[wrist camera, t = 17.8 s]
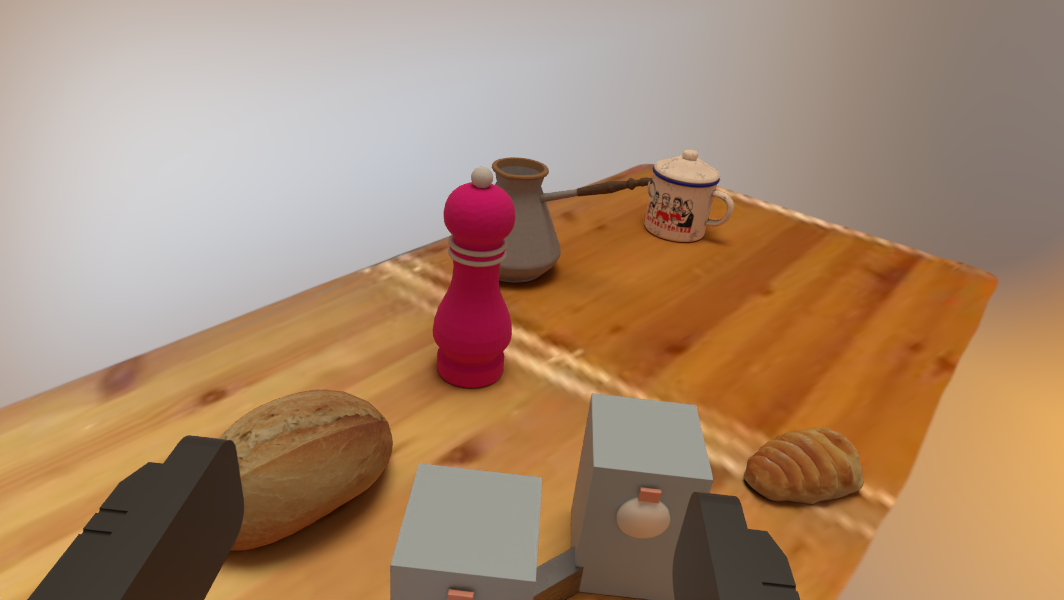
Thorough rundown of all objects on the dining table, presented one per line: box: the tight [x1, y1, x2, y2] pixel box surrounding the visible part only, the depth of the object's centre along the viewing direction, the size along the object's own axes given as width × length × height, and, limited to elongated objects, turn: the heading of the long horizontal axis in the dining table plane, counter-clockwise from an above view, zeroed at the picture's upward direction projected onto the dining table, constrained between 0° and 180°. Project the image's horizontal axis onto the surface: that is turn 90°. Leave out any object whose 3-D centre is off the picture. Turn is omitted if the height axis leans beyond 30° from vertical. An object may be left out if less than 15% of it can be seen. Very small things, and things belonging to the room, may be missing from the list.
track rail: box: [533, 547, 584, 600], centre depth 45 cm, size 13×2×2 cm, turn 127°
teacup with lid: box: [644, 150, 734, 242], centre depth 97 cm, size 12×9×12 cm
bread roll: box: [219, 390, 393, 551], centre depth 49 cm, size 10×15×8 cm, turn 138°
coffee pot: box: [492, 158, 656, 283], centre depth 80 cm, size 21×12×15 cm, turn 66°
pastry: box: [744, 427, 864, 504], centre depth 57 cm, size 9×7×4 cm
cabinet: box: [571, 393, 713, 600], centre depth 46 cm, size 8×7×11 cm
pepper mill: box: [433, 167, 516, 388], centre depth 62 cm, size 7×7×20 cm
